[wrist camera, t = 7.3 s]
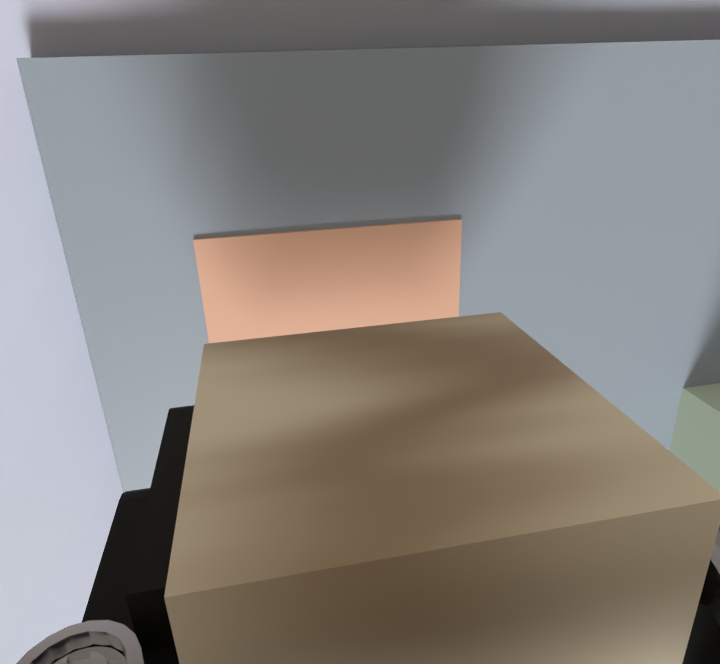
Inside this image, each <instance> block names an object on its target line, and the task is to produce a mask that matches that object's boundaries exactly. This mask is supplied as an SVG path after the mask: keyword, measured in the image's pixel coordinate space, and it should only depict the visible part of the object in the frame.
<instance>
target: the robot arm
mask: <svg viewBox="0 0 720 664" xmlns="http://www.w3.org/2000/svg"><path fill="white" fill-rule="evenodd" d="M193 411H194V405H192V406H184V407H175V408H170V409H169V411H168V415H167V419H166V424H165V428H164V432H163V436H162V440H161V445H160V449H159V453H158V457H157V462H156V466H155V470H154V474H153V478H152V483H151V487H150V488H146V489H139V490H132V491H125V492H124V493H123V494H122V495H121V498H120V500H119V503H118V506H117V509H116V513H115V516H114V519H113V522H112V526H111V529H110V532H109V535H108V539H107V542H106V545H105V548H104V552H103V555H102V558H101V562H100V565H99V568H98V571H97V575H96V578H95V581H94V584H93V588H92V591H91V594H90V597H89V601H88V604H87V607H86V610H85V614H84V617H83V620H82V623H79V624H75V625H71V626H68V627H66V628H64V629H62V630H60V631H58V632H56V633H54V634H52V635H50V636H48V637H47V638H45V639H44V640H43V641H41V642H40V643H39V644H37V645H36V646H35V647H33V648H32V649H30V650H29V651H28V652H27V653H26V654H25V655H24V656H23V657H22V658H21V659H20V660H19V662H18V663H17V664H179V659H178V655H177V651H176V646H175V642H174V638H173V634H172V629H171V625H170V621H169V616H168V612H167V608H166V604H165V599H164V595H165V588H166V582H167V576H168V569H169V563H170V557H171V550H172V544H173V538H174V531H175V525H176V519H177V512H178V506H179V500H180V493H181V487H182V480H183V474H184V468H185V461H186V455H187V449H188V442H189V436H190V430H191V423H192V417H193ZM682 664H720V526H719V530H718V533H717V537H716V541H715V544H714V548H713V552H712V556H711V559H710V563H709V567H708V570H707V574H706V578H705V581H704V585H703V589H702V593H701V596H700V600H699V604H698V607H697V611H696V615H695V618H694V622H693V626H692V630H691V633H690V637H689V641H688V644H687V648H686V652H685V655H684V659H683V663H682Z"/></svg>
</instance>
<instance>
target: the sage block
mask: <svg viewBox="0 0 720 664" xmlns="http://www.w3.org/2000/svg"><path fill="white" fill-rule="evenodd" d="M670 452H671V453H673V454H674V455H675V456H676V457H677V458H679V459H680V460H681V461H682V462H683V463H685V464H686V465H687V466H688V467H690V468H691V469H692V470H693V471H694V472H696V473H697V474H698V475H699V476H700V477H702V478H703V479H704V480H705V481H707V482H708V483H709V484H710V485H711V486H713V487H714V488H715V489H716V490H717V491H719V492H720V383H717V384H709V385H702V386H694V387H686V388H683V389H682V394H681V399H680V404H679V408H678V413H677V418H676V423H675V427H674V432H673V437H672V442H671V446H670Z"/></svg>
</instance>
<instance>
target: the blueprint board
mask: <svg viewBox="0 0 720 664" xmlns="http://www.w3.org/2000/svg"><path fill="white" fill-rule="evenodd" d="M16 59H17V63H18V67H19V71H20V75H21V79H22V83H23V87H24V91H25V95H26V99H27V103H28V107H29V111H30V116H31V120H32V124H33V128H34V132H35V136H36V140H37V144H38V148H39V152H40V156H41V160H42V164H43V168H44V172H45V176H46V180H47V185H48V189H49V193H50V197H51V201H52V205H53V209H54V213H55V217H56V221H57V225H58V229H59V233H60V237H61V241H62V245H63V249H64V254H65V258H66V262H67V266H68V270H69V274H70V278H71V282H72V286H73V290H74V294H75V298H76V302H77V306H78V310H79V314H80V319H81V323H82V327H83V331H84V335H85V339H86V343H87V347H88V351H89V355H90V359H91V363H92V367H93V371H94V375H95V379H96V383H97V388H98V392H99V396H100V400H101V404H102V408H103V412H104V416H105V420H106V424H107V428H108V432H109V436H110V440H111V444H112V448H113V452H114V457H115V461H116V465H117V469H118V473H119V477H120V481H121V485H122V489H123V493H124V492H125V491H132V490H139V489H146V488H150V487H151V483H152V478H153V474H154V470H155V466H156V462H157V457H158V453H159V449H160V445H161V440H162V436H163V432H164V428H165V424H166V419H167V415H168V411H169V409H170V408H175V407H184V406H192V405H194V404H195V398H196V392H197V385H198V379H199V373H200V366H201V360H202V353H203V347H204V344H208V343H217V342H226V341H236V340H245V339H254V338H264V337H273V336H282V335H292V334H301V333H310V332H320V331H329V330H338V329H348V328H357V327H366V326H376V325H385V324H394V323H404V322H413V321H422V320H432V319H441V318H450V317H460V316H469V315H478V314H488V313H497V312H501V313H502V314H504V315H505V316H506V317H507V318H508V319H510V320H511V321H512V322H513V323H515V324H516V325H517V326H518V327H519V328H521V329H522V330H523V331H524V332H525V333H527V334H528V335H529V336H530V337H532V338H533V339H534V340H535V341H536V342H538V343H539V344H540V345H541V346H542V347H544V348H545V349H546V350H547V351H549V352H550V353H551V354H552V355H553V356H555V357H556V358H557V359H558V360H559V361H561V362H562V363H563V364H564V365H566V366H567V367H568V368H569V369H570V370H572V371H573V372H574V373H575V374H577V375H578V376H579V377H580V378H581V379H583V380H584V381H585V382H586V383H587V384H589V385H590V386H591V387H592V388H594V389H595V390H596V391H597V392H598V393H600V394H601V395H602V396H603V397H604V398H606V399H607V400H608V401H609V402H611V403H612V404H613V405H614V406H615V407H617V408H618V409H619V410H620V411H621V412H623V413H624V414H625V415H626V416H628V417H629V418H630V419H631V420H632V421H634V422H635V423H636V424H637V425H638V426H640V427H641V428H642V429H643V430H645V431H646V432H647V433H648V434H649V435H651V436H652V437H653V438H654V439H656V440H657V441H658V442H659V443H660V444H662V445H663V446H664V447H665V448H666V449H668V450H669V451H670V446H671V442H672V437H673V432H674V427H675V423H676V418H677V413H678V408H679V404H680V399H681V394H682V389H683V388H686V387H694V386H702V385H709V384H717V383H720V40H683V41H645V42H608V43H570V44H533V45H495V46H457V47H420V48H382V49H345V50H307V51H269V52H232V53H194V54H156V55H119V56H81V57H43V58H16Z"/></svg>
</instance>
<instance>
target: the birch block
mask: <svg viewBox="0 0 720 664" xmlns="http://www.w3.org/2000/svg"><path fill="white" fill-rule="evenodd" d="M719 526H720V492H719V491H717V490H716V489H715V488H714V487H713V486H711V485H710V484H709V483H708V482H707V481H705V480H704V479H703V478H702V477H700V476H699V475H698V474H697V473H696V472H694V471H693V470H692V469H691V468H690V467H688V466H687V465H686V464H685V463H683V462H682V461H681V460H680V459H679V458H677V457H676V456H675V455H674V454H673V453H671V452H670V451H669V450H668V449H666V448H665V447H664V446H663V445H662V444H660V443H659V442H658V441H657V440H656V439H654V438H653V437H652V436H651V435H649V434H648V433H647V432H646V431H645V430H643V429H642V428H641V427H640V426H638V425H637V424H636V423H635V422H634V421H632V420H631V419H630V418H629V417H628V416H626V415H625V414H624V413H623V412H621V411H620V410H619V409H618V408H617V407H615V406H614V405H613V404H612V403H611V402H609V401H608V400H607V399H606V398H604V397H603V396H602V395H601V394H600V393H598V392H597V391H596V390H595V389H594V388H592V387H591V386H590V385H589V384H587V383H586V382H585V381H584V380H583V379H581V378H580V377H579V376H578V375H577V374H575V373H574V372H573V371H572V370H570V369H569V368H568V367H567V366H566V365H564V364H563V363H562V362H561V361H559V360H558V359H557V358H556V357H555V356H553V355H552V354H551V353H550V352H549V351H547V350H546V349H545V348H544V347H542V346H541V345H540V344H539V343H538V342H536V341H535V340H534V339H533V338H532V337H530V336H529V335H528V334H527V333H525V332H524V331H523V330H522V329H521V328H519V327H518V326H517V325H516V324H515V323H513V322H512V321H511V320H510V319H508V318H507V317H506V316H505V315H504V314H502V313H501V312H497V313H488V314H478V315H469V316H460V317H450V318H441V319H432V320H422V321H413V322H404V323H394V324H385V325H376V326H366V327H357V328H348V329H338V330H329V331H320V332H310V333H301V334H292V335H282V336H273V337H264V338H254V339H245V340H236V341H226V342H217V343H208V344H204V347H203V353H202V360H201V366H200V373H199V379H198V385H197V392H196V398H195V404H194V411H193V417H192V423H191V430H190V436H189V442H188V449H187V455H186V461H185V468H184V474H183V480H182V487H181V493H180V500H179V506H178V512H177V519H176V525H175V531H174V538H173V544H172V550H171V557H170V563H169V569H168V576H167V582H166V588H165V595H164V599H165V604H166V608H167V612H168V616H169V621H170V625H171V629H172V634H173V638H174V642H175V646H176V651H177V655H178V659H179V664H682V663H683V659H684V655H685V652H686V648H687V644H688V641H689V637H690V633H691V630H692V626H693V622H694V618H695V615H696V611H697V607H698V604H699V600H700V596H701V593H702V589H703V585H704V581H705V578H706V574H707V570H708V567H709V563H710V559H711V556H712V552H713V548H714V544H715V541H716V537H717V533H718V530H719Z"/></svg>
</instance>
